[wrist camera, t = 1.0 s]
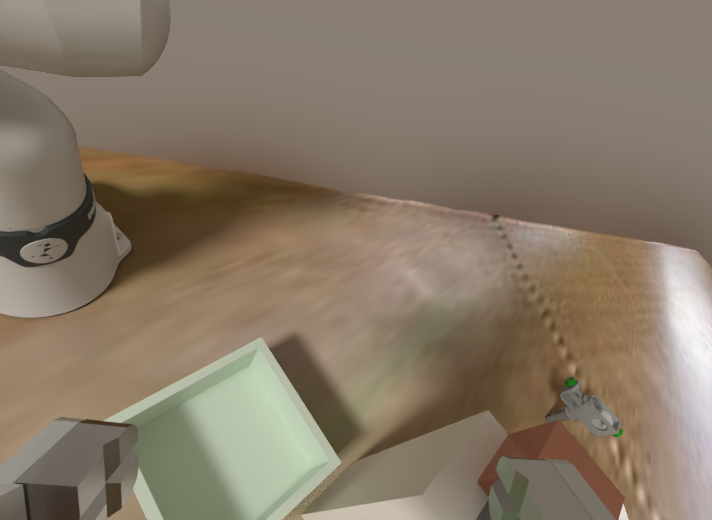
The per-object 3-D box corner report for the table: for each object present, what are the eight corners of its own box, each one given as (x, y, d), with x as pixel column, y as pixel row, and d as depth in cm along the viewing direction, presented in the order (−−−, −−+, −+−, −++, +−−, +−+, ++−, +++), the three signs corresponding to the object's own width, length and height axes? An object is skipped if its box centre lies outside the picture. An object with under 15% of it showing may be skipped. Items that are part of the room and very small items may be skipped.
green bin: (109, 436, 38) (101, 421, 33) (250, 357, 49) (261, 337, 44) (183, 598, 33) (187, 608, 28) (320, 471, 44) (341, 462, 39)
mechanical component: (531, 391, 66) (576, 373, 59) (573, 438, 64) (625, 425, 57) (525, 401, 65) (571, 383, 57) (568, 450, 62) (622, 438, 55)
